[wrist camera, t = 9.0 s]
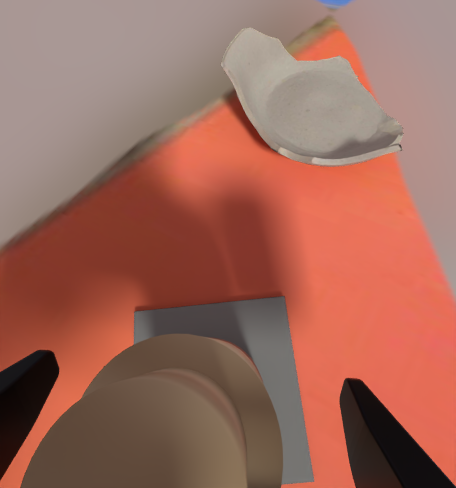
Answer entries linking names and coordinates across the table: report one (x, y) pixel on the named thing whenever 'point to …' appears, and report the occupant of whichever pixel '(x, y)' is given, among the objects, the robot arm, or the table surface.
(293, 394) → the mat
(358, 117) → the pottery shard
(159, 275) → the table surface
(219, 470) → the skittle
